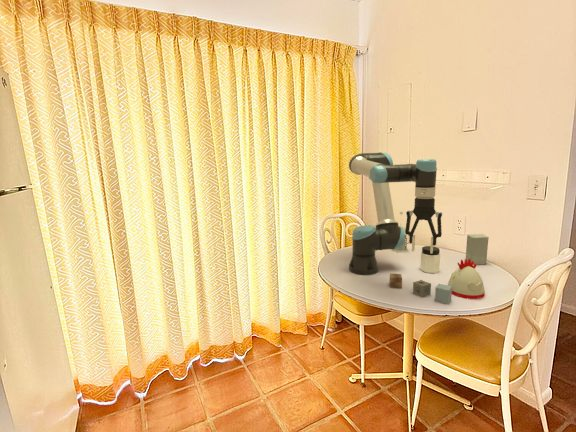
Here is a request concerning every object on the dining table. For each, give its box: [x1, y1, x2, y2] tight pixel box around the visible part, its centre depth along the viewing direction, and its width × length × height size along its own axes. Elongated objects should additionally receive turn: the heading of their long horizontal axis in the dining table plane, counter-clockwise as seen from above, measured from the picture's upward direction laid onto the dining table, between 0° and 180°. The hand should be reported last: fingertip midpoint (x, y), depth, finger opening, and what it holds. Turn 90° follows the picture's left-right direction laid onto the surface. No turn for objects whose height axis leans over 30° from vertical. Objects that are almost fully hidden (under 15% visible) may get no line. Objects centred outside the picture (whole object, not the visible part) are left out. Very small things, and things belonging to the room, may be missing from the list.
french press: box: [391, 211, 411, 254], centre depth 189 cm, size 10×12×25 cm
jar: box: [419, 245, 441, 274], centre depth 155 cm, size 9×8×12 cm
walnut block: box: [389, 273, 403, 289], centre depth 139 cm, size 5×5×5 cm
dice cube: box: [412, 279, 432, 298], centre depth 130 cm, size 5×5×5 cm
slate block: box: [434, 283, 453, 305], centre depth 123 cm, size 5×5×6 cm
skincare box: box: [465, 233, 489, 266], centre depth 163 cm, size 8×7×16 cm
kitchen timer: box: [447, 258, 485, 300], centre depth 129 cm, size 14×14×15 cm
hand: (422, 251), depth 127 cm, fingers open, 6 cm apart
